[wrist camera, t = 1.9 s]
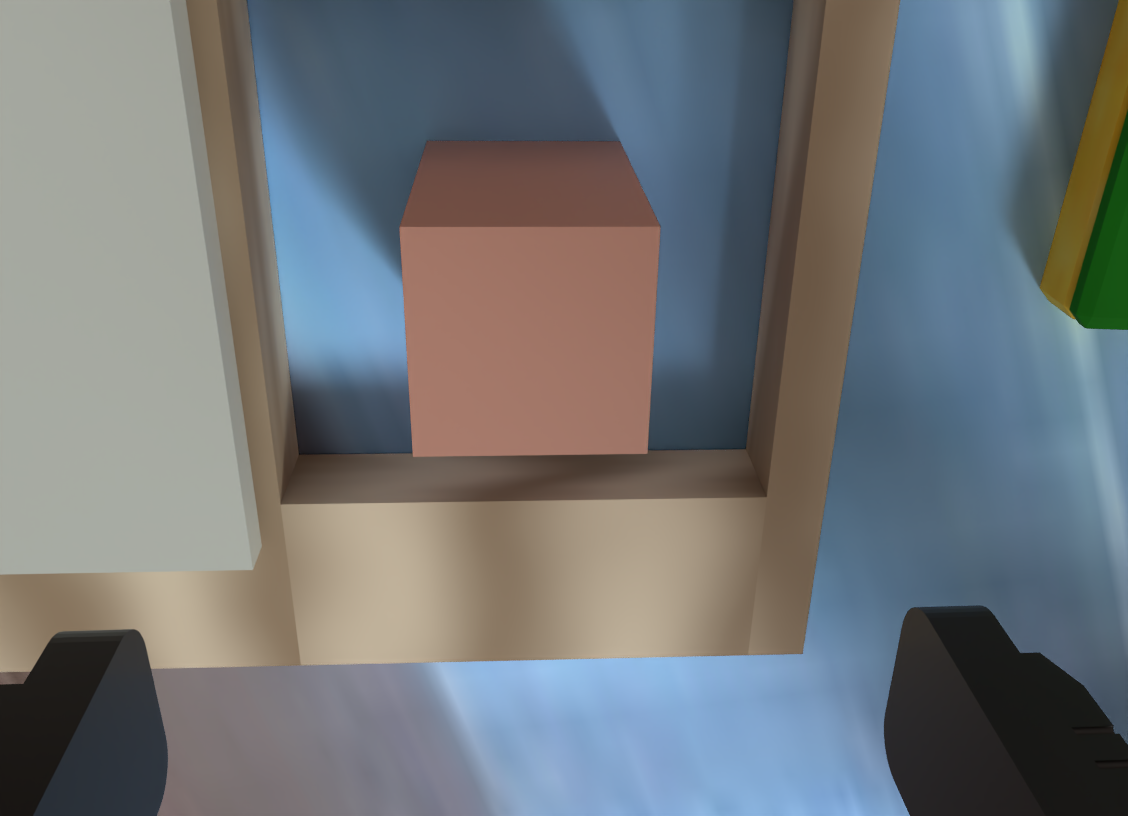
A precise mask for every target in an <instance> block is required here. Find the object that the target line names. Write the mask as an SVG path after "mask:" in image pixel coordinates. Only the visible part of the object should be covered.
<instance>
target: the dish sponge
mask: <svg viewBox="0 0 1128 816" xmlns="http://www.w3.org/2000/svg"><path fill="white" fill-rule="evenodd" d="M1040 289H1041V291H1042V292H1043V293H1044V295H1045V296H1046V298H1047V299H1048V300H1049V301H1050V302H1051V303H1052V304H1054V305H1055V306H1056V307H1058V308H1059V309H1060V310H1062V311H1063V312H1064V313H1066V314H1067V315H1068V316H1070V317H1071V318H1072V319H1076V320H1077V322H1078V323H1079V324H1080V325H1082V326H1083V327H1084V328H1088V329H1118V330H1128V0H1119V2H1118V5H1117V9H1116V13H1115V16H1114V20H1113V24H1112V27H1111V31H1110V34H1109V38H1108V42H1107V45H1106V49H1105V53H1104V56H1103V60H1102V64H1101V67H1100V71H1099V74H1098V78H1097V82H1096V85H1095V89H1094V93H1093V96H1092V100H1091V103H1090V107H1089V111H1088V114H1087V118H1086V122H1085V125H1084V129H1083V132H1082V136H1081V140H1080V143H1079V147H1078V151H1077V154H1076V158H1075V162H1074V165H1073V169H1072V172H1071V176H1070V180H1069V183H1068V187H1067V191H1066V194H1065V198H1064V201H1063V205H1062V209H1061V212H1060V216H1059V220H1058V223H1057V227H1056V231H1055V234H1054V238H1053V241H1052V245H1051V249H1050V252H1049V256H1048V260H1047V263H1046V267H1045V270H1044V274H1043V278H1042V281H1041V285H1040Z"/></svg>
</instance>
